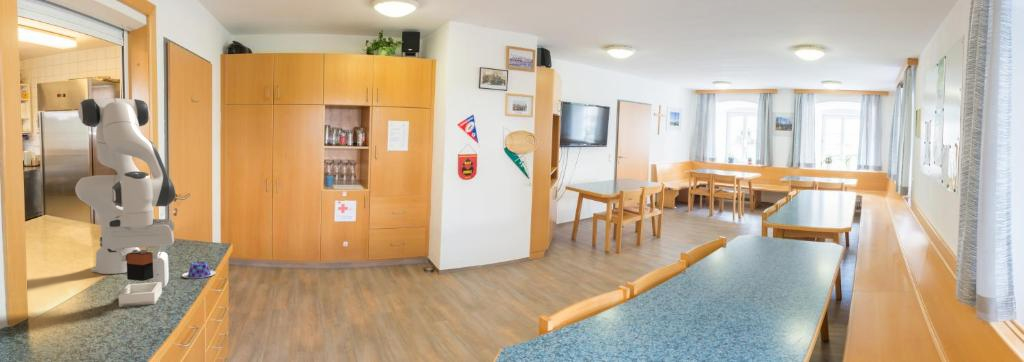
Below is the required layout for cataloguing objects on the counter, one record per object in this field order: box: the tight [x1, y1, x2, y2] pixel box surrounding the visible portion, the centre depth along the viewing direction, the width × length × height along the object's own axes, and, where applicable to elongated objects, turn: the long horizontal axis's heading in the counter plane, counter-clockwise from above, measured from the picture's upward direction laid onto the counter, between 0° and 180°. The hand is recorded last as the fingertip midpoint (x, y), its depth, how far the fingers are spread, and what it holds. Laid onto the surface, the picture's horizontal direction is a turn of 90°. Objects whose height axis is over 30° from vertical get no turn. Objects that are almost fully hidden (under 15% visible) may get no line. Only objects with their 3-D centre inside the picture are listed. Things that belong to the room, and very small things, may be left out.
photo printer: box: [152, 251, 170, 289], centre depth 205 cm, size 10×4×12 cm, turn 25°
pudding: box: [181, 261, 217, 279], centre depth 219 cm, size 12×12×5 cm
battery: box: [126, 249, 153, 282], centre depth 186 cm, size 4×7×10 cm, turn 78°
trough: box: [118, 282, 163, 308], centre depth 187 cm, size 13×10×4 cm
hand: (139, 259), depth 186 cm, fingers closed on battery, 8 cm apart
